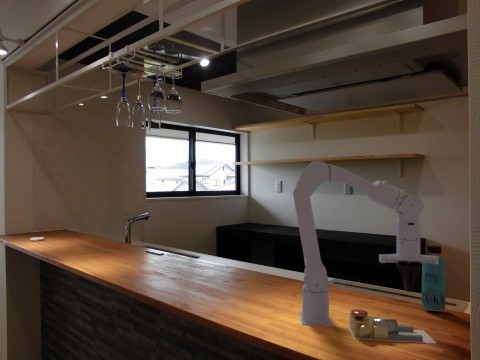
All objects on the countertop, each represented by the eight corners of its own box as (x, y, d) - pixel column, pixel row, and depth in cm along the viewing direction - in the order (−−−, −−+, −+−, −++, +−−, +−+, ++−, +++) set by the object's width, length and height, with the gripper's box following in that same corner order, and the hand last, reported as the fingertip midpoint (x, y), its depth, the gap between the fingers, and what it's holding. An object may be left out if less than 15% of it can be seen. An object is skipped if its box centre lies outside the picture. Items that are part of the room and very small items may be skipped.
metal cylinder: (368, 328, 94) (369, 314, 93) (392, 329, 93) (394, 315, 92) (372, 338, 90) (373, 324, 89) (397, 340, 90) (399, 326, 88)
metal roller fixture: (347, 328, 97) (347, 322, 97) (423, 331, 95) (423, 325, 95) (354, 340, 89) (354, 334, 89) (436, 344, 87) (436, 338, 87)
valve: (347, 325, 97) (347, 305, 97) (378, 327, 97) (378, 306, 97) (355, 340, 88) (355, 318, 88) (389, 342, 87) (389, 319, 87)
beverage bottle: (420, 307, 114) (420, 243, 114) (444, 310, 111) (444, 244, 112) (422, 314, 108) (421, 246, 108) (447, 317, 105) (447, 247, 106)
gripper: (384, 240, 94) (384, 293, 94) (443, 241, 93) (444, 295, 92) (376, 236, 101) (377, 286, 101) (432, 238, 100) (432, 288, 99)
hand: (408, 290), depth 97 cm, fingers closed
